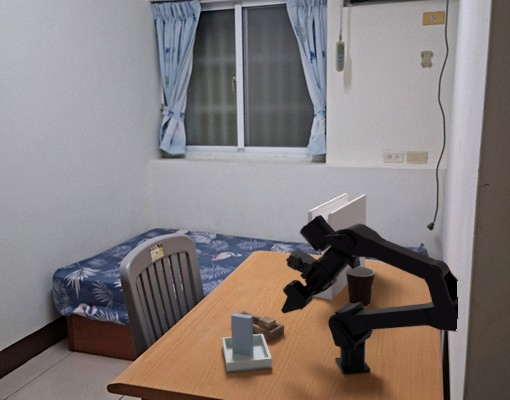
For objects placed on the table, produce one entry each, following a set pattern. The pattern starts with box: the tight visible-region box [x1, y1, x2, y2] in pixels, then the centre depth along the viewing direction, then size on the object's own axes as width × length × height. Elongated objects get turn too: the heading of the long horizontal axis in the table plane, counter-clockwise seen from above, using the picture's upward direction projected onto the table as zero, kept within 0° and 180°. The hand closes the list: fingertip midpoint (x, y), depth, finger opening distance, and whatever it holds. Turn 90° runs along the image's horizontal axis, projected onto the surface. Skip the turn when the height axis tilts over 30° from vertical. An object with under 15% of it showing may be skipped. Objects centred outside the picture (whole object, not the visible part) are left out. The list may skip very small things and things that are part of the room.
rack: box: [238, 311, 285, 342], centre depth 130 cm, size 15×5×2 cm, turn 49°
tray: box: [221, 334, 273, 374], centre depth 116 cm, size 13×11×2 cm
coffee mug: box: [346, 266, 376, 307], centre depth 145 cm, size 12×9×10 cm
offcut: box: [259, 315, 277, 330], centre depth 127 cm, size 4×3×2 cm
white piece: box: [307, 192, 367, 301], centre depth 164 cm, size 35×8×28 cm, turn 150°
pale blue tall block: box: [230, 312, 254, 357], centre depth 116 cm, size 5×2×10 cm, turn 68°
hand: (291, 305), depth 117 cm, fingers open, 9 cm apart
